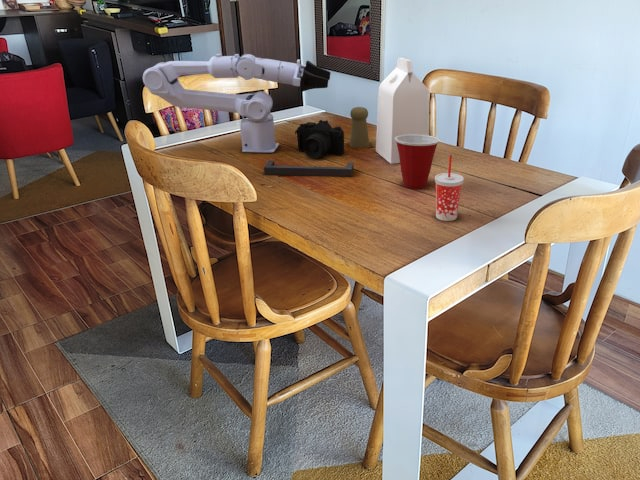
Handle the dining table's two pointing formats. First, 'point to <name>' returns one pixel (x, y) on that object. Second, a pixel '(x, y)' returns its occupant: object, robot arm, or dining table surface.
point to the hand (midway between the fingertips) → (329, 79)
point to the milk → (400, 109)
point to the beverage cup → (448, 194)
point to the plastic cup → (416, 158)
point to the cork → (359, 128)
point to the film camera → (320, 139)
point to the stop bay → (308, 170)
